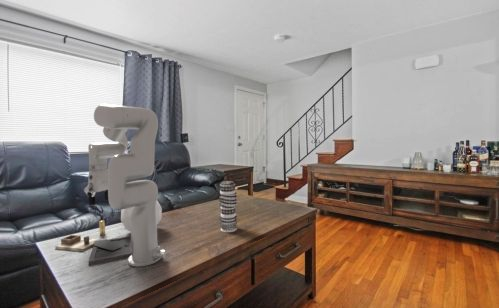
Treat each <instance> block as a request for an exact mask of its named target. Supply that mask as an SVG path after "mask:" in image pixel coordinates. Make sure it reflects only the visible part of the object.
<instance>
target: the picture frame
mask: <svg viewBox="0 0 499 308" xmlns="http://www.w3.org/2000/svg"><path fill="white" fill-rule="evenodd" d="M131 255H132V246H131V235H128V236H122V237H115V238H111V239H110V238H109V239H101V240H98V241H94V244H93V247H92V250H91V253H90V255H89V259H88V266H93V265H99V264H103V263H108V262H112V261H117V260H122V259H128V258H129V257H130V256H131Z"/></svg>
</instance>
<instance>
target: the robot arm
mask: <svg viewBox="0 0 499 308" xmlns="http://www.w3.org/2000/svg"><path fill="white" fill-rule="evenodd" d="M93 120H94V122H95V124H96V125H98V126H99V127H102V133H103V134H104V137H105V138H107V139H108V140H109V141H113V142H93V143H89V144H88V145H87V146H88V161H89V166H88V170H89V171H88V176H87V177H88V179H87V186H85V187H84V188H83V192H84V193H85V195H86V196H87V197H88V205H91V206H94V205H96V203H97V202H96V196H95V195H96V193H100V192H104V200H105V201H106V200H108V204H109V206H110V207H111V208H112V210H114V211H121V210H122V209H127V208H131V207H134V209H133V211H132V213H131V216H130V226H131V231H130V236H131V246H132V255H131V256H130V257H128V258H127V264H128V265H129V266H132V267H138V268H139V267H146V266H149V265H153V264H156V263H157V262H158V261H160V260H161V259H165V258H166V255H167V253H166V252H167V251H166V250H165V249H161V245H158V226H157V225H158V224H157V221H156V204H157V201H158V195H159V188H158V185H157V183H156V182H155V181H153V180H150V179H143V178H146V177H147V178H148V177H150V176H152V175H153V173H154V171H155V152H156V151H155V149H156V145H155V144H156V138H157V133H158V130H159V120H158V116H157V113H155V112H154V111H153V110H152V109H150V108H147V107H146V108H145V107H139V106H138V107H137V106H126V105H118V104H107V103H101V104H98V106H97V107H96V108H95V109H94V112H93ZM128 130H136V132H135V133H134V134H133V135H132V137H131V139H130V150H129V151H130V152H129V153H126V151H127V150H128V146H129V141H128V137H127V135H126V133H127V132H128ZM108 159H109V162H108ZM136 179H139V180H136ZM140 179H141V180H140ZM128 180H134V181H129V182H127V181H128Z"/></svg>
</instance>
